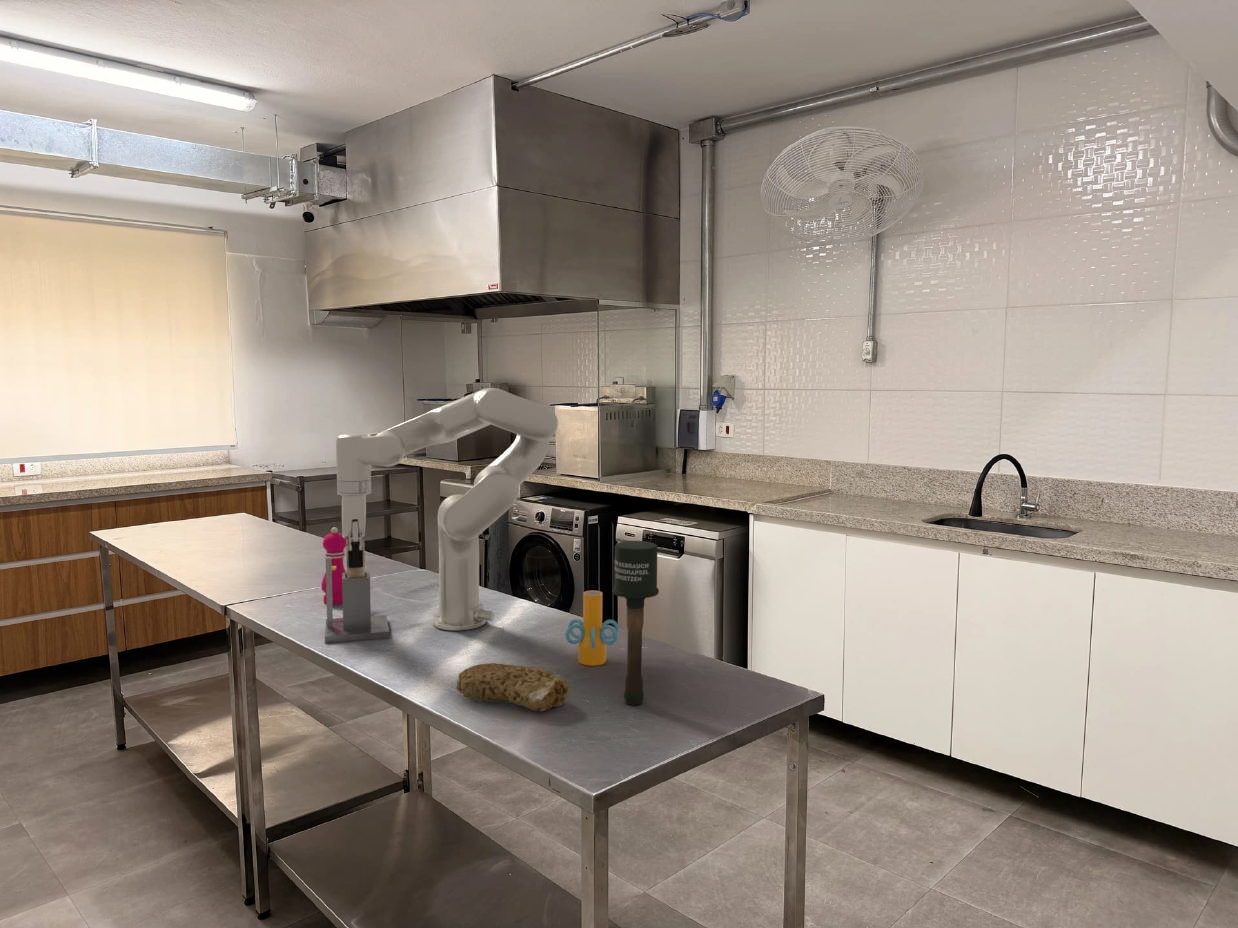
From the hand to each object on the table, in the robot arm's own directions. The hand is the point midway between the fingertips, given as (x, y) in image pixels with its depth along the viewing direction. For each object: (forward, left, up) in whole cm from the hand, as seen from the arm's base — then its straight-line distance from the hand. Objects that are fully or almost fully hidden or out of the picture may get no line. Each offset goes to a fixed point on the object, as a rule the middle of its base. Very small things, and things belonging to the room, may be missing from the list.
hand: (355, 564), depth 193 cm
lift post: (0, 0, -14) cm, 14 cm away
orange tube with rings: (-59, +3, -16) cm, 61 cm away
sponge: (-51, +28, -16) cm, 60 cm away
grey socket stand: (0, 0, -16) cm, 16 cm away
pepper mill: (+20, -21, -16) cm, 33 cm away
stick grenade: (-73, +22, -16) cm, 78 cm away
